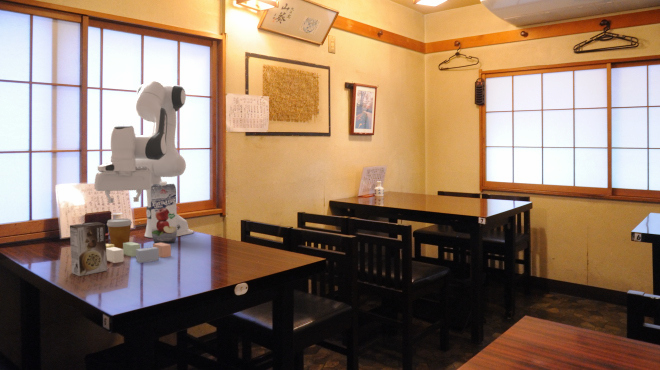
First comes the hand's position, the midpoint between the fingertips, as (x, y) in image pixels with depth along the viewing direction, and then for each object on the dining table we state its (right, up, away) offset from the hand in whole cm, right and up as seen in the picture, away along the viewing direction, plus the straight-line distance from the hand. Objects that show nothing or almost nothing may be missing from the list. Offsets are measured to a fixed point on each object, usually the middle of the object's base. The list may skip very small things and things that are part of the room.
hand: (123, 202), depth 183 cm
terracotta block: (+15, -21, -1) cm, 26 cm away
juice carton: (+7, -19, +26) cm, 32 cm away
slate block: (+13, -21, -10) cm, 27 cm away
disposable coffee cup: (-6, -20, +10) cm, 23 cm away
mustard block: (-6, -21, -2) cm, 22 cm away
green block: (+3, -21, 0) cm, 21 cm away
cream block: (+1, -21, -10) cm, 24 cm away
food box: (0, -23, -27) cm, 35 cm away
